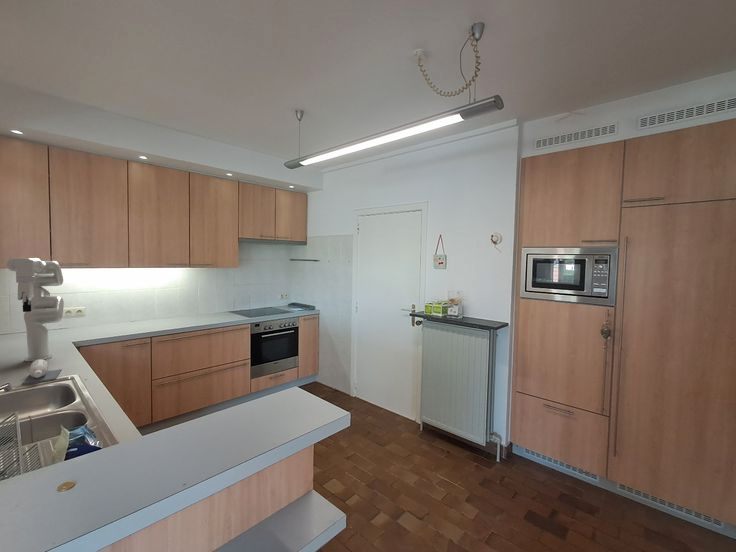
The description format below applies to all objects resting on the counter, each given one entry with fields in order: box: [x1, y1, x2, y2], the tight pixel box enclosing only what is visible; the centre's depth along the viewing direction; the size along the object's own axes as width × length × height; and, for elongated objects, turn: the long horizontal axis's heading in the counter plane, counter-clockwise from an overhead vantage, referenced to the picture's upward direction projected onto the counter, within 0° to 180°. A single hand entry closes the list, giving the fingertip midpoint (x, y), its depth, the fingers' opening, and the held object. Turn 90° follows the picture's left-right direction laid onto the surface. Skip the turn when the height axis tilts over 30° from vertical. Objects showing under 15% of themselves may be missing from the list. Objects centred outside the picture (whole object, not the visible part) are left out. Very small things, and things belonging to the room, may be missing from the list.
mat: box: [21, 368, 62, 386], centre depth 179 cm, size 17×13×1 cm
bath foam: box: [28, 359, 49, 378], centre depth 178 cm, size 7×7×20 cm
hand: (27, 311), depth 191 cm, fingers closed
